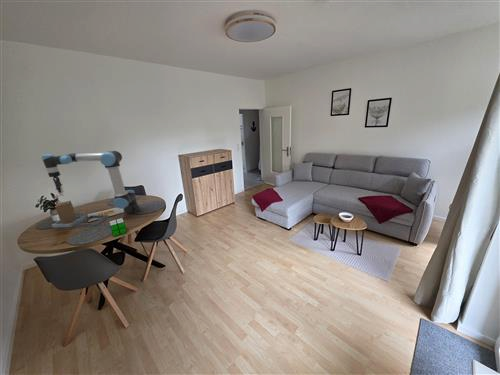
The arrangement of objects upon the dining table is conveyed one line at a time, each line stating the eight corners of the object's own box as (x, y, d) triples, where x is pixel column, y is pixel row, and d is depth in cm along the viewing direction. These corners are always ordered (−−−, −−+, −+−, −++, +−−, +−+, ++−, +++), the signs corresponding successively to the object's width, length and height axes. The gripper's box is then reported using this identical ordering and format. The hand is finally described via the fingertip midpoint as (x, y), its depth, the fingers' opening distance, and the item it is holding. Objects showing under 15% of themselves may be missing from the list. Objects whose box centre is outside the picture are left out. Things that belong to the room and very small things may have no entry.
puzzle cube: (125, 227, 176) (122, 217, 173) (127, 232, 168) (124, 221, 165) (112, 232, 170) (108, 221, 167) (113, 236, 163) (110, 225, 160)
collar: (108, 217, 200) (108, 214, 199) (95, 225, 183) (94, 223, 182) (91, 217, 201) (90, 215, 200) (76, 226, 184) (75, 224, 183)
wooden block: (76, 222, 190) (69, 203, 183) (62, 226, 184) (54, 206, 178) (77, 219, 197) (70, 200, 191) (64, 222, 192) (57, 203, 186)
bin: (86, 218, 199) (85, 215, 198) (71, 227, 182) (69, 224, 181) (69, 219, 200) (68, 216, 199) (52, 228, 183) (51, 224, 182)
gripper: (48, 170, 183) (57, 192, 190) (46, 174, 165) (55, 198, 172) (59, 169, 188) (67, 190, 194) (58, 172, 170) (67, 196, 176)
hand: (62, 194), depth 183 cm, fingers open, 13 cm apart
